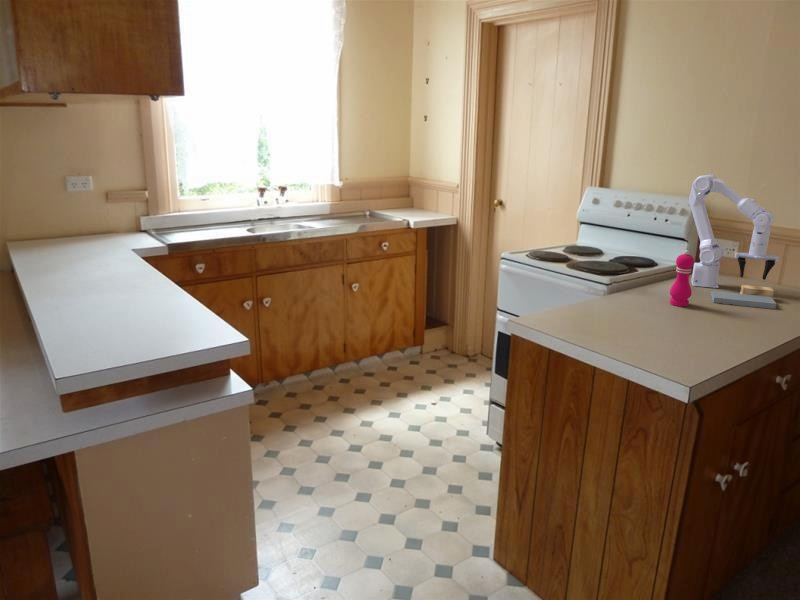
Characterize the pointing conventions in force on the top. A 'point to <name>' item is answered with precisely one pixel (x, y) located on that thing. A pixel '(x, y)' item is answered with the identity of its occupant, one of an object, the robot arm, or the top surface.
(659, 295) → the top surface
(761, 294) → the oak bar
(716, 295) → the slate board
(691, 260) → the pepper mill
